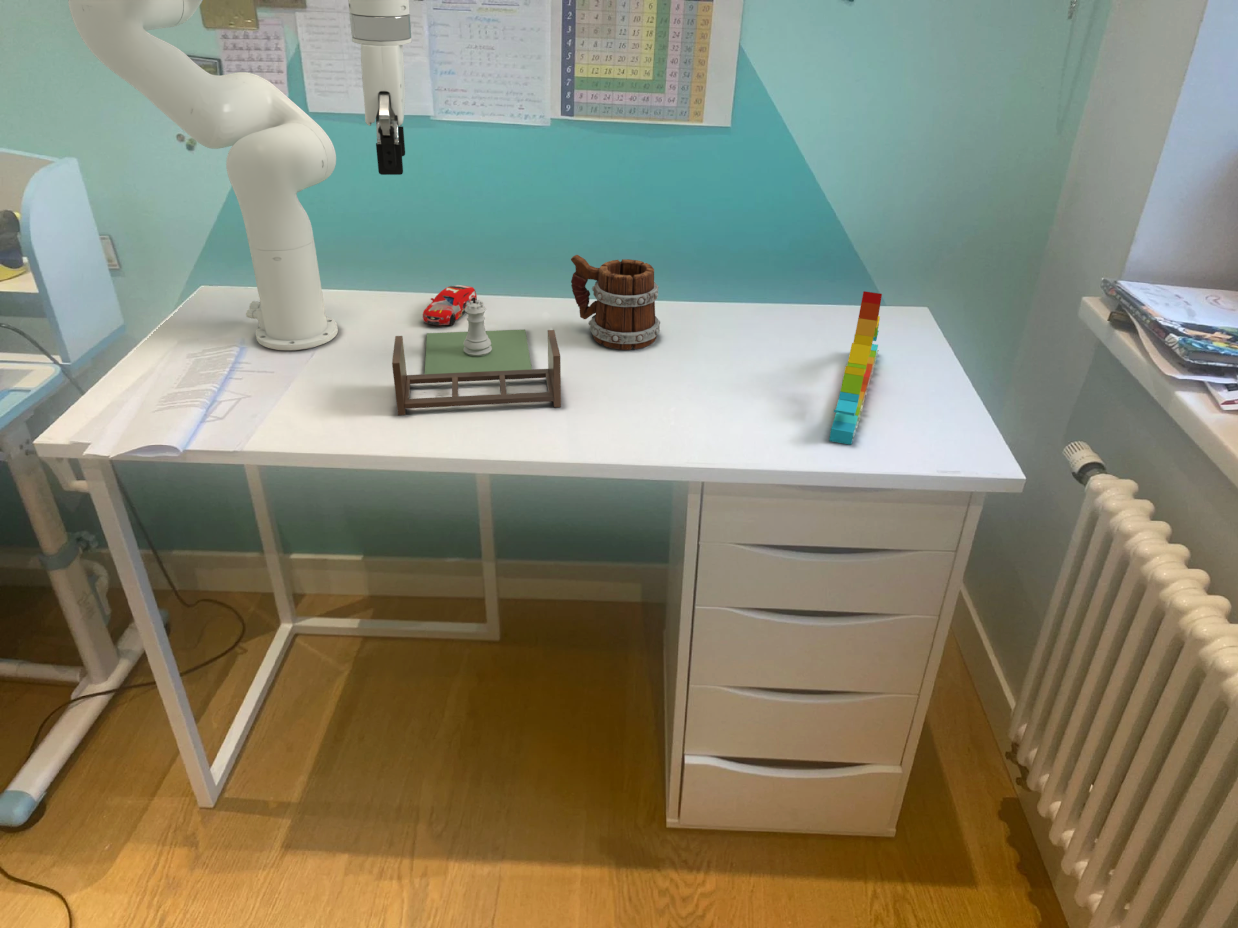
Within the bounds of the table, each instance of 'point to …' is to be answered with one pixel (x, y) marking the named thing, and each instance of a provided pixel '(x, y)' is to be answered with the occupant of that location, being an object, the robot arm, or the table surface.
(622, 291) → the mug
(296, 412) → the table surface
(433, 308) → the race car
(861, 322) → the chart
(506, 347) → the mat
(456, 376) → the rack
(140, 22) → the robot arm
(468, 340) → the rook chess piece
